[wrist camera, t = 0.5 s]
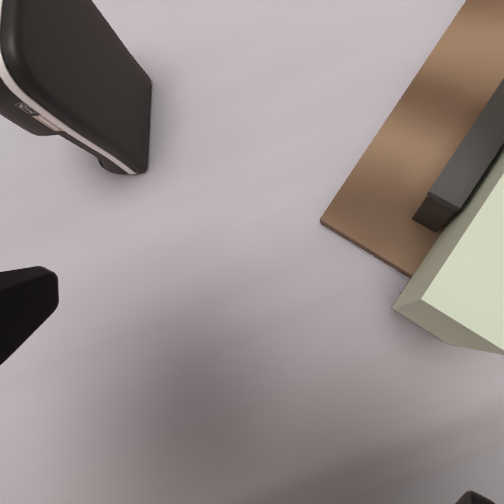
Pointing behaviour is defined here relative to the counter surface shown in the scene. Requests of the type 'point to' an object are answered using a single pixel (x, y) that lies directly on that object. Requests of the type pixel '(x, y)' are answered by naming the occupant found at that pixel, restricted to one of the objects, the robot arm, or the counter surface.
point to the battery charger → (73, 80)
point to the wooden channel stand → (429, 145)
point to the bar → (465, 272)
